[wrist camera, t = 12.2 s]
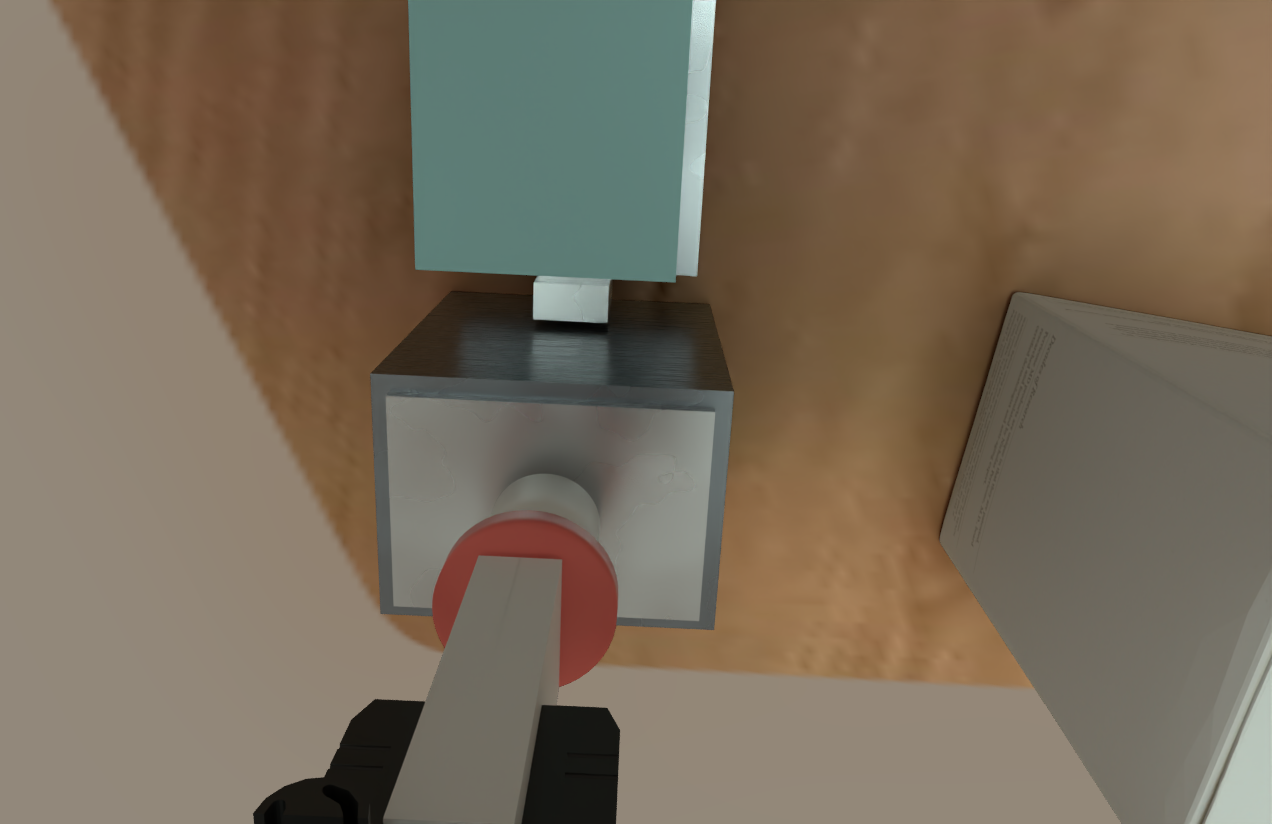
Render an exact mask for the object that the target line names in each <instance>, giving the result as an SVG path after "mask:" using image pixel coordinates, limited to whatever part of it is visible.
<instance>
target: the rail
mask: <svg viewBox="0 0 1272 824" xmlns="http://www.w3.org/2000/svg"><path fill="white" fill-rule="evenodd" d="M715 4H716V0H693V4H692V20H691V36H690V53H689V69H688V86H687V102H686V118H685V135H684V151H683V167H682V184H681V200H680V217H679V233H678V249H677V266H676V275H686V276H697V269H698V254H699V239H700V224H701V210H702V195H703V180H704V166H705V151H706V136H707V122H708V107H709V92H710V78H711V63H712V48H713V34H714V19H715ZM612 285H613V279H596V278H575V277H555V276H537V278H536V279H535V281H534V287H533V319H534V320H554V321H574V322H594V323H608V318H609V312H610V306H611V301H612Z"/></svg>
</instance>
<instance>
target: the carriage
mask: <svg viewBox="0 0 1272 824" xmlns="http://www.w3.org/2000/svg"><path fill="white" fill-rule="evenodd" d="M692 4H693V0H408V11H409V49H410V87H411V125H412V162H413V200H414V238H415V270H434V271H454V272H474V273H495V274H515V275H535V276H555V277H575V278H596V279H616V280H636V281H656V282H676V266H677V249H678V233H679V217H680V200H681V184H682V167H683V151H684V135H685V118H686V102H687V86H688V69H689V53H690V36H691V20H692Z"/></svg>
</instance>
